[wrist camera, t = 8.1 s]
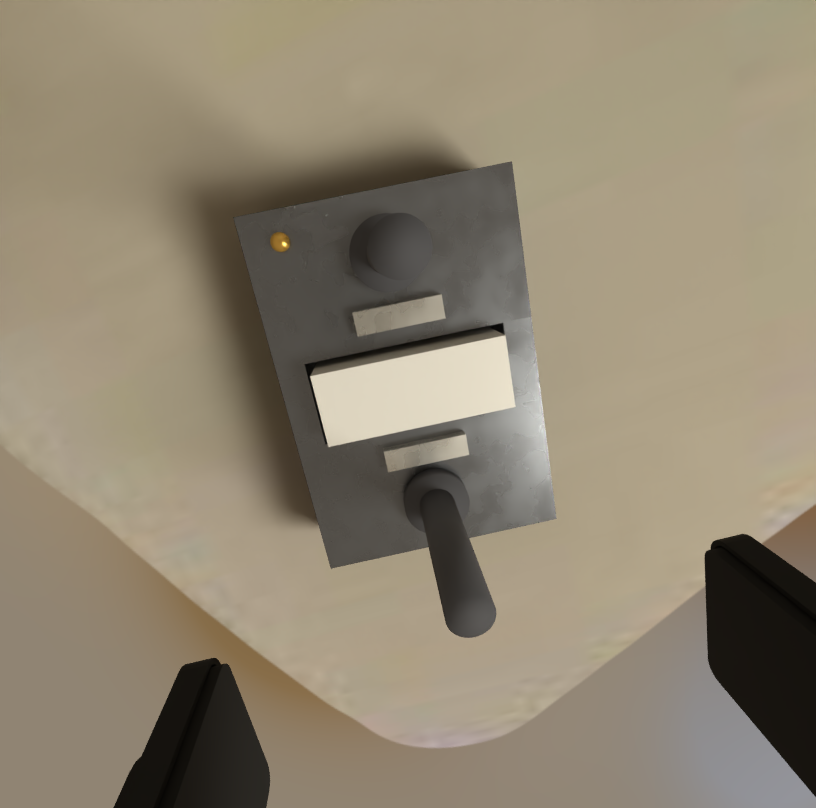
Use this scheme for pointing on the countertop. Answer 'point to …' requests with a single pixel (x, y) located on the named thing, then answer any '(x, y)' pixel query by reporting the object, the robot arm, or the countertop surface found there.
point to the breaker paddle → (413, 385)
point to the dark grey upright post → (390, 251)
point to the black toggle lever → (450, 550)
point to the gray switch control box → (396, 324)
